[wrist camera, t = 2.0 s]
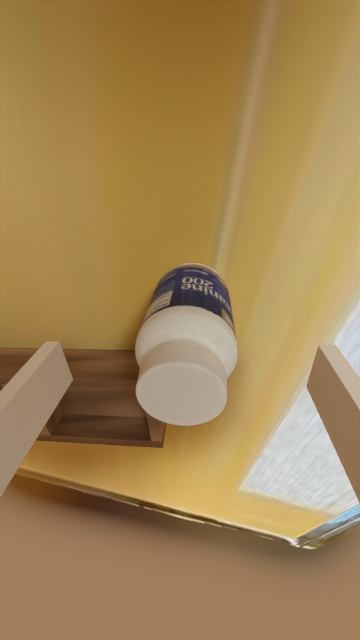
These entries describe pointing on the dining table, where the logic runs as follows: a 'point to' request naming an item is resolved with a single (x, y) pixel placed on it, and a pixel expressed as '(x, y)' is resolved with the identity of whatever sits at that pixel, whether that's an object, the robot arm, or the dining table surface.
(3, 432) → the robot arm
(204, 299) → the pill bottle
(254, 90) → the dining table surface
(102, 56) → the dining table surface
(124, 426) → the rack
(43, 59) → the dining table surface
